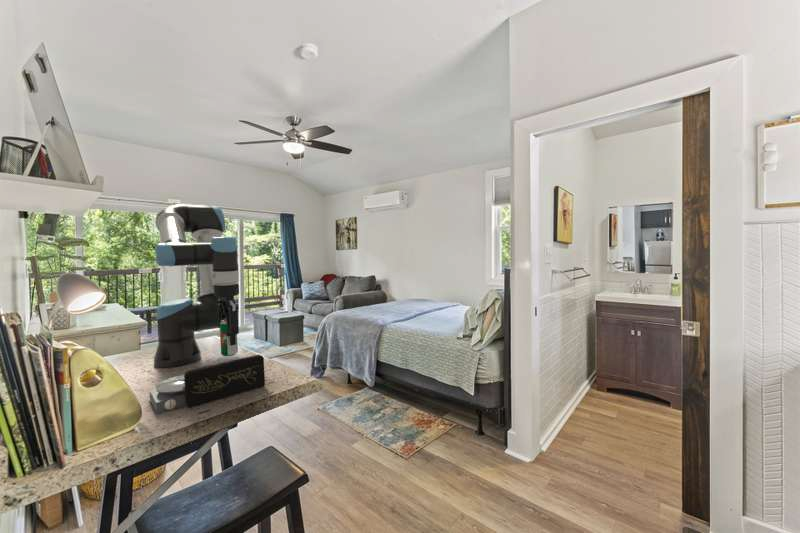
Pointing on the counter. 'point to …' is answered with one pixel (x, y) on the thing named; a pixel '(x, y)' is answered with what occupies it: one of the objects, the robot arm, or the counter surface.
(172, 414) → the counter surface
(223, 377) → the nameplate
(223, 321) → the soda can
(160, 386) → the scale pan
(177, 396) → the scale base
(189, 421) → the counter surface
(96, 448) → the counter surface
